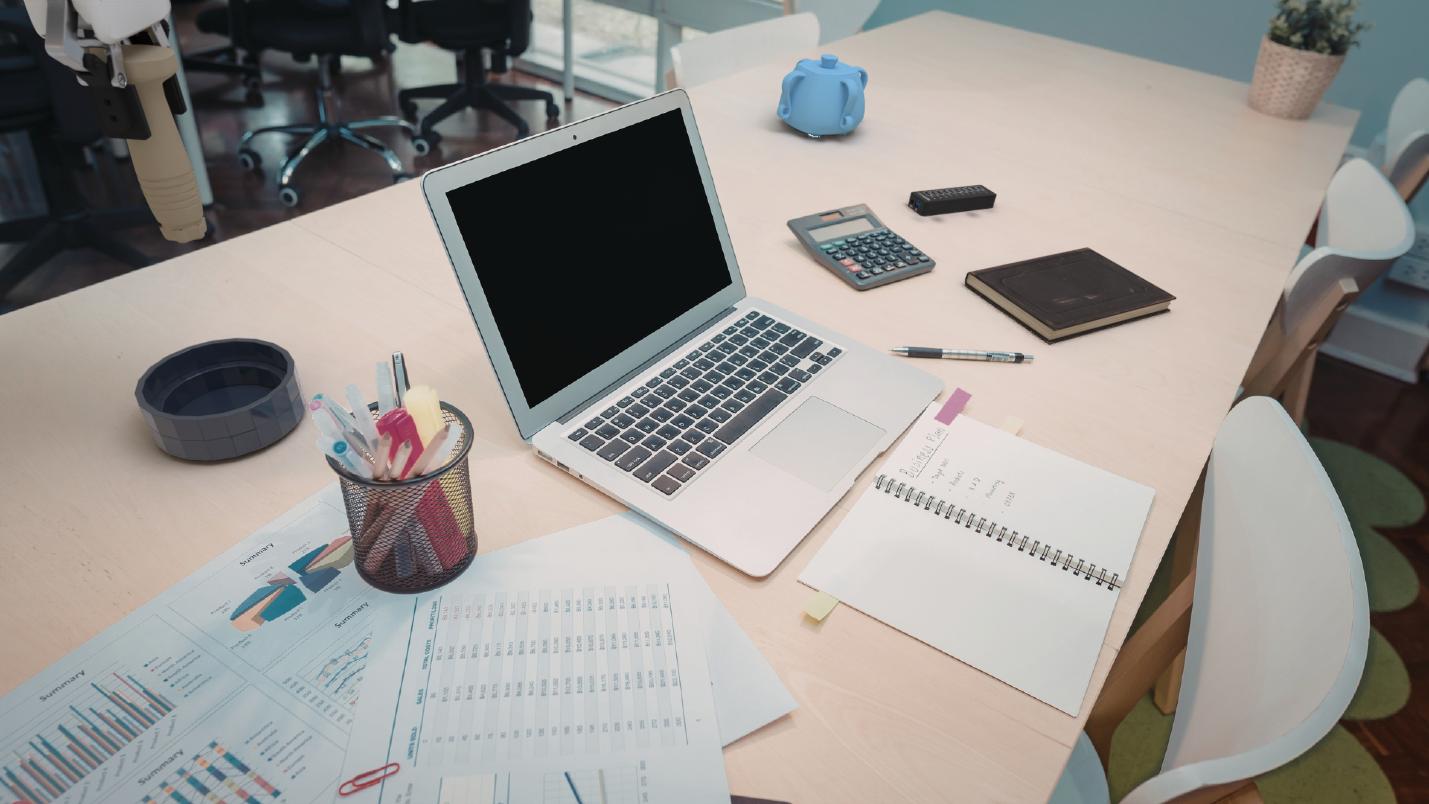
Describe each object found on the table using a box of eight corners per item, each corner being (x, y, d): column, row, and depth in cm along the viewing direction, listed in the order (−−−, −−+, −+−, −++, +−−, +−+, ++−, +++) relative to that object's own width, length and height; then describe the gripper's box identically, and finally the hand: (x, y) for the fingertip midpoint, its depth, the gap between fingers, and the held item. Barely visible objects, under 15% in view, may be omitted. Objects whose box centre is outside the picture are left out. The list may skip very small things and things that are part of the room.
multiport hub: (994, 207, 134) (998, 194, 133) (922, 216, 129) (925, 202, 128) (977, 197, 137) (981, 184, 136) (906, 205, 132) (909, 191, 131)
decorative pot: (846, 150, 150) (860, 74, 142) (765, 131, 155) (775, 56, 146) (868, 126, 163) (882, 54, 154) (792, 109, 167) (802, 39, 159)
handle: (150, 225, 71) (84, 44, 62) (232, 222, 73) (180, 45, 63) (137, 251, 67) (64, 62, 58) (224, 246, 69) (166, 63, 60)
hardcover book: (1169, 311, 110) (1176, 297, 109) (1049, 344, 101) (1055, 329, 99) (1079, 259, 121) (1084, 245, 120) (962, 284, 112) (967, 269, 110)
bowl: (126, 463, 72) (104, 417, 69) (193, 378, 82) (177, 335, 79) (277, 467, 73) (262, 422, 70) (324, 383, 83) (313, 340, 80)
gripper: (68, -166, 59) (151, 88, 70) (-106, -149, 46) (31, 162, 57) (176, -156, 60) (242, 94, 71) (36, -136, 47) (144, 169, 58)
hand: (147, 122), depth 64 cm, fingers closed on handle, 5 cm apart
